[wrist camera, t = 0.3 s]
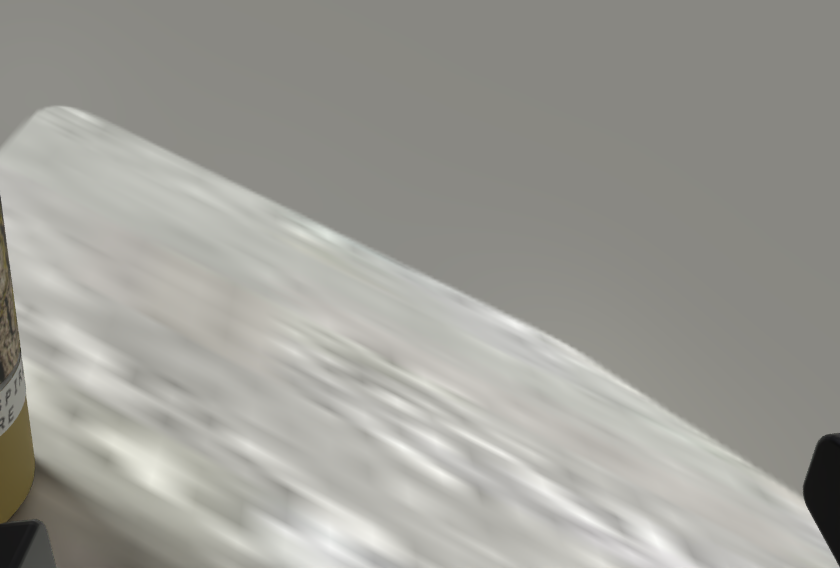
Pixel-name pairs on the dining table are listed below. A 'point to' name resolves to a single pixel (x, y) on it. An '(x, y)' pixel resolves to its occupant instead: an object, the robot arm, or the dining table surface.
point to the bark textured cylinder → (12, 400)
